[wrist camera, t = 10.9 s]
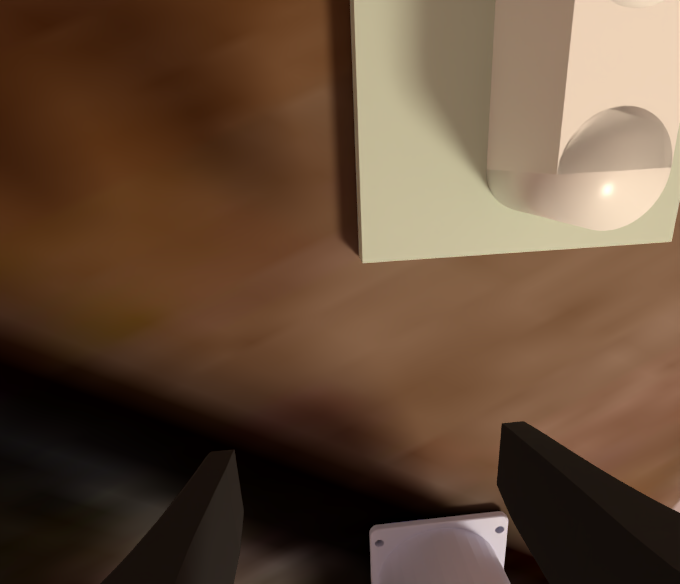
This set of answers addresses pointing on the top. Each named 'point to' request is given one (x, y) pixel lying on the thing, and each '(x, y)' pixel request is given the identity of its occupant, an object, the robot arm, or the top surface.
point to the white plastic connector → (583, 107)
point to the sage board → (447, 142)
